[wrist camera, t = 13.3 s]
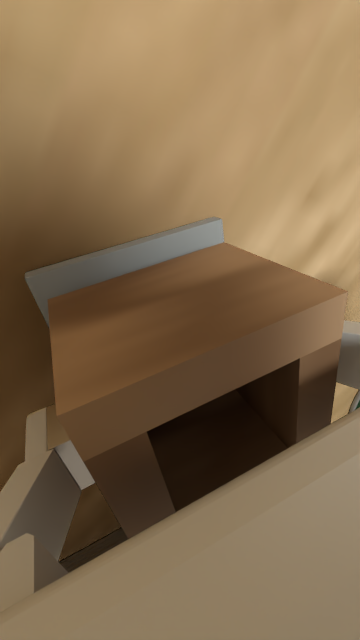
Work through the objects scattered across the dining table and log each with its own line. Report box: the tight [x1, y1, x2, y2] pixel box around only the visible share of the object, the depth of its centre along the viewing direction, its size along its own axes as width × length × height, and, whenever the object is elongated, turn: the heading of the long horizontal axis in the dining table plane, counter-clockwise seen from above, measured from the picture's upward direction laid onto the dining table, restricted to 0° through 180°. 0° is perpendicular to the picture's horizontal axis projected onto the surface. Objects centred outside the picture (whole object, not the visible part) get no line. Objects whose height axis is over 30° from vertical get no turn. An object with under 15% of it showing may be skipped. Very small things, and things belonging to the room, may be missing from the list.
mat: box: [25, 217, 224, 329], centre depth 12 cm, size 7×7×1 cm
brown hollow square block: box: [47, 242, 348, 539], centre depth 9 cm, size 6×6×5 cm
